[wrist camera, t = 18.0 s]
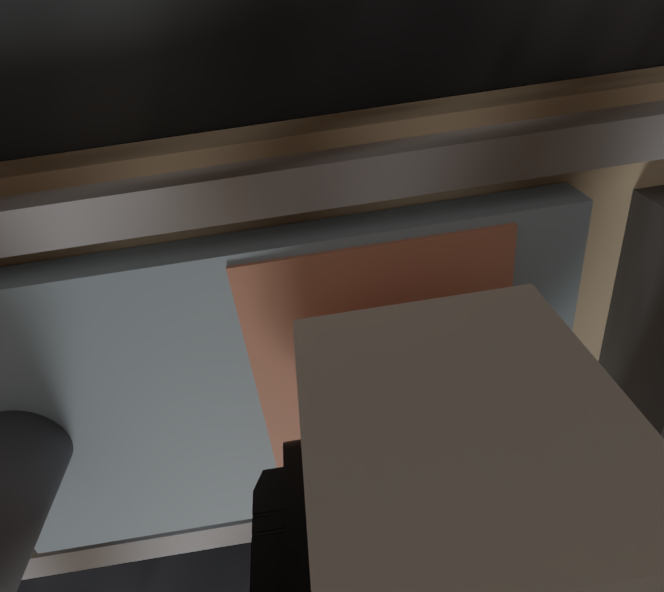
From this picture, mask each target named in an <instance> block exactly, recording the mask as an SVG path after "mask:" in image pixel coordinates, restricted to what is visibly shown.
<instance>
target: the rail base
mask: <svg viewBox="0 0 664 592" xmlns="http://www.w3.org/2000/svg"><path fill="white" fill-rule="evenodd" d="M565 182H568V183H569V184H571V185H572V186H573V187H575V188H576V189H578V190H579V191H581V192H582V193H583V194H585V195H586V196H588V197H589V198H591V199H592V200H593V206H592V212H591V219H590V225H589V231H588V237H587V243H586V250H585V256H584V262H583V268H582V274H581V281H580V287H579V293H578V299H577V305H576V311H575V318H574V324H573V330H572V331H573V333H574V334H575V335H576V336H577V337H578V338H579V340H580V341H581V342H582V343H583V344H584V345H585V347H586V348H587V349H588V350H589V351H590V353H591V354H592V355H593V356H594V357H595V358H596V360H597V361H598V362H599V363H600V364H601V366H602V367H603V368H604V369H605V370H606V371H607V373H608V374H609V375H610V376H611V377H612V378H613V380H614V381H615V382H616V383H617V384H618V386H619V387H620V388H621V389H622V390H623V391H624V393H625V394H626V395H627V396H628V397H629V398H630V400H631V401H632V402H633V403H634V404H635V406H636V407H637V408H638V409H639V410H640V411H641V413H642V414H643V415H644V416H645V417H646V419H647V420H648V421H649V422H650V423H651V424H652V426H653V427H654V428H655V429H656V430H657V431H658V433H659V434H660V435H661V436H662V437H663V439H664V66H659V67H652V68H645V69H638V70H631V71H625V72H618V73H611V74H604V75H597V76H590V77H583V78H576V79H569V80H562V81H555V82H548V83H542V84H535V85H528V86H521V87H514V88H507V89H500V90H493V91H486V92H479V93H472V94H465V95H459V96H452V97H445V98H438V99H431V100H424V101H417V102H410V103H403V104H396V105H389V106H382V107H376V108H369V109H362V110H355V111H348V112H341V113H334V114H327V115H320V116H313V117H306V118H299V119H293V120H286V121H279V122H272V123H265V124H258V125H251V126H244V127H237V128H230V129H223V130H216V131H210V132H203V133H196V134H189V135H182V136H175V137H168V138H161V139H154V140H147V141H140V142H133V143H127V144H120V145H113V146H106V147H99V148H92V149H85V150H78V151H71V152H64V153H57V154H50V155H44V156H37V157H30V158H23V159H16V160H9V161H2V162H0V267H4V266H11V265H18V264H24V263H31V262H38V261H44V260H51V259H58V258H64V257H71V256H78V255H84V254H91V253H98V252H104V251H111V250H118V249H124V248H131V247H138V246H145V245H151V244H158V243H165V242H171V241H178V240H185V239H191V238H198V237H205V236H211V235H218V234H225V233H231V232H238V231H245V230H251V229H258V228H265V227H271V226H278V225H285V224H291V223H298V222H305V221H311V220H318V219H325V218H331V217H338V216H345V215H351V214H358V213H365V212H371V211H378V210H385V209H391V208H398V207H405V206H411V205H418V204H425V203H431V202H438V201H445V200H452V199H458V198H465V197H472V196H478V195H485V194H492V193H498V192H505V191H512V190H518V189H525V188H532V187H538V186H545V185H552V184H558V183H565ZM251 538H252V519H246V520H240V521H234V522H228V523H222V524H215V525H209V526H203V527H197V528H191V529H185V530H179V531H173V532H167V533H161V534H155V535H149V536H143V537H136V538H130V539H124V540H118V541H112V542H106V543H100V544H94V545H88V546H82V547H76V548H70V549H63V550H57V551H51V552H45V553H39V554H38V553H37V552H36V550H35V549H34V550H33V553H32V555H31V558H30V560H29V562H28V565H27V567H26V570H25V572H24V575H23V577H22V580H25V579H31V578H37V577H43V576H49V575H55V574H61V573H67V572H73V571H79V570H85V569H91V568H97V567H103V566H109V565H115V564H121V563H127V562H133V561H139V560H145V559H151V558H157V557H163V556H169V555H175V554H181V553H187V552H194V551H200V550H206V549H212V548H218V547H224V546H230V545H236V544H242V543H248V542H251Z"/></svg>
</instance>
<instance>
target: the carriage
mask: <svg viewBox="0 0 664 592" xmlns="http://www.w3.org/2000/svg"><path fill="white" fill-rule="evenodd" d="M592 206H593V200H592V199H591V198H589V197H588V196H586V195H585V194H583V193H582V192H581V191H579V190H578V189H576V188H575V187H573V186H572V185H571V184H569V183H568V182H565V183H558V184H552V185H545V186H538V187H532V188H525V189H518V190H512V191H505V192H498V193H492V194H485V195H478V196H472V197H465V198H458V199H452V200H445V201H438V202H431V203H425V204H418V205H411V206H405V207H398V208H391V209H385V210H378V211H371V212H365V213H358V214H351V215H345V216H338V217H331V218H325V219H318V220H311V221H305V222H298V223H291V224H285V225H278V226H271V227H265V228H258V229H251V230H245V231H238V232H231V233H225V234H218V235H211V236H205V237H198V238H191V239H185V240H178V241H171V242H165V243H158V244H151V245H145V246H138V247H131V248H124V249H118V250H111V251H104V252H98V253H91V254H84V255H78V256H71V257H64V258H58V259H51V260H44V261H38V262H31V263H24V264H18V265H11V266H4V267H0V592H17V589H18V587H19V584H20V582H21V580H22V577H23V575H24V572H25V570H26V567H27V565H28V562H29V560H30V558H31V555H32V553H33V550H34V549H35V550H36V552H37V553H38V554H39V553H45V552H51V551H57V550H63V549H70V548H76V547H82V546H88V545H94V544H100V543H106V542H112V541H118V540H124V539H130V538H136V537H143V536H149V535H155V534H161V533H167V532H173V531H179V530H185V529H191V528H197V527H203V526H209V525H215V524H222V523H228V522H234V521H240V520H246V519H252V518H253V515H252V505H253V490H254V488H255V486H256V484H257V481H258V479H259V477H260V475H261V473H262V471H263V470H266V469H272V468H279V467H283V442H287V441H293V440H299V439H301V435H300V420H299V406H298V391H297V376H296V361H295V347H294V332H293V320H296V319H303V318H309V317H316V316H322V315H329V314H336V313H342V312H349V311H355V310H362V309H368V308H375V307H381V306H388V305H394V304H401V303H408V302H414V301H421V300H427V299H434V298H440V297H447V296H453V295H460V294H466V293H473V292H479V291H486V290H493V289H499V288H506V287H512V286H519V285H525V284H533V285H534V287H535V288H536V289H537V290H538V291H539V292H540V294H541V295H542V296H543V297H544V298H545V300H546V301H547V302H548V303H549V304H550V305H551V307H552V308H553V309H554V310H555V311H556V313H557V314H558V315H559V316H560V317H561V318H562V320H563V321H564V322H565V323H566V324H567V325H568V327H569V328H570V329H571V330H573V324H574V318H575V311H576V305H577V299H578V293H579V287H580V281H581V274H582V268H583V262H584V256H585V250H586V243H587V237H588V231H589V225H590V219H591V212H592Z"/></svg>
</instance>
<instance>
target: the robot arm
mask: <svg viewBox="0 0 664 592" xmlns="http://www.w3.org/2000/svg"><path fill="white" fill-rule="evenodd" d="M252 515H253V518H252V538H251V569H250V592H311V583H310V568H309V553H308V538H307V524H306V509H305V494H304V479H303V465H302V450H301V439H299V440H293V441H287V442H283V467H279V468H272V469H266V470H263V471H262V473H261V475H260V477H259V479H258V481H257V484H256V486H255V488H254V490H253V505H252Z"/></svg>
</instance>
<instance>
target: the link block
mask: <svg viewBox="0 0 664 592" xmlns="http://www.w3.org/2000/svg"><path fill="white" fill-rule="evenodd" d="M293 332H294V347H295V361H296V376H297V391H298V406H299V420H300V435H301V450H302V465H303V479H304V494H305V509H306V524H307V538H308V553H309V568H310V583H311V592H664V439H663V437H662V436H661V435H660V434H659V433H658V431H657V430H656V429H655V428H654V427H653V426H652V424H651V423H650V422H649V421H648V420H647V419H646V417H645V416H644V415H643V414H642V413H641V411H640V410H639V409H638V408H637V407H636V406H635V404H634V403H633V402H632V401H631V400H630V398H629V397H628V396H627V395H626V394H625V393H624V391H623V390H622V389H621V388H620V387H619V386H618V384H617V383H616V382H615V381H614V380H613V378H612V377H611V376H610V375H609V374H608V373H607V371H606V370H605V369H604V368H603V367H602V366H601V364H600V363H599V362H598V361H597V360H596V358H595V357H594V356H593V355H592V354H591V353H590V351H589V350H588V349H587V348H586V347H585V345H584V344H583V343H582V342H581V341H580V340H579V338H578V337H577V336H576V335H575V334H574V333H573V331H572V330H571V329H570V328H569V327H568V325H567V324H566V323H565V322H564V321H563V320H562V318H561V317H560V316H559V315H558V314H557V313H556V311H555V310H554V309H553V308H552V307H551V305H550V304H549V303H548V302H547V301H546V300H545V298H544V297H543V296H542V295H541V294H540V292H539V291H538V290H537V289H536V288H535V287H534V285H533V284H525V285H519V286H512V287H506V288H499V289H493V290H486V291H479V292H473V293H466V294H460V295H453V296H447V297H440V298H434V299H427V300H421V301H414V302H408V303H401V304H394V305H388V306H381V307H375V308H368V309H362V310H355V311H349V312H342V313H336V314H329V315H322V316H316V317H309V318H303V319H296V320H293Z"/></svg>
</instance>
